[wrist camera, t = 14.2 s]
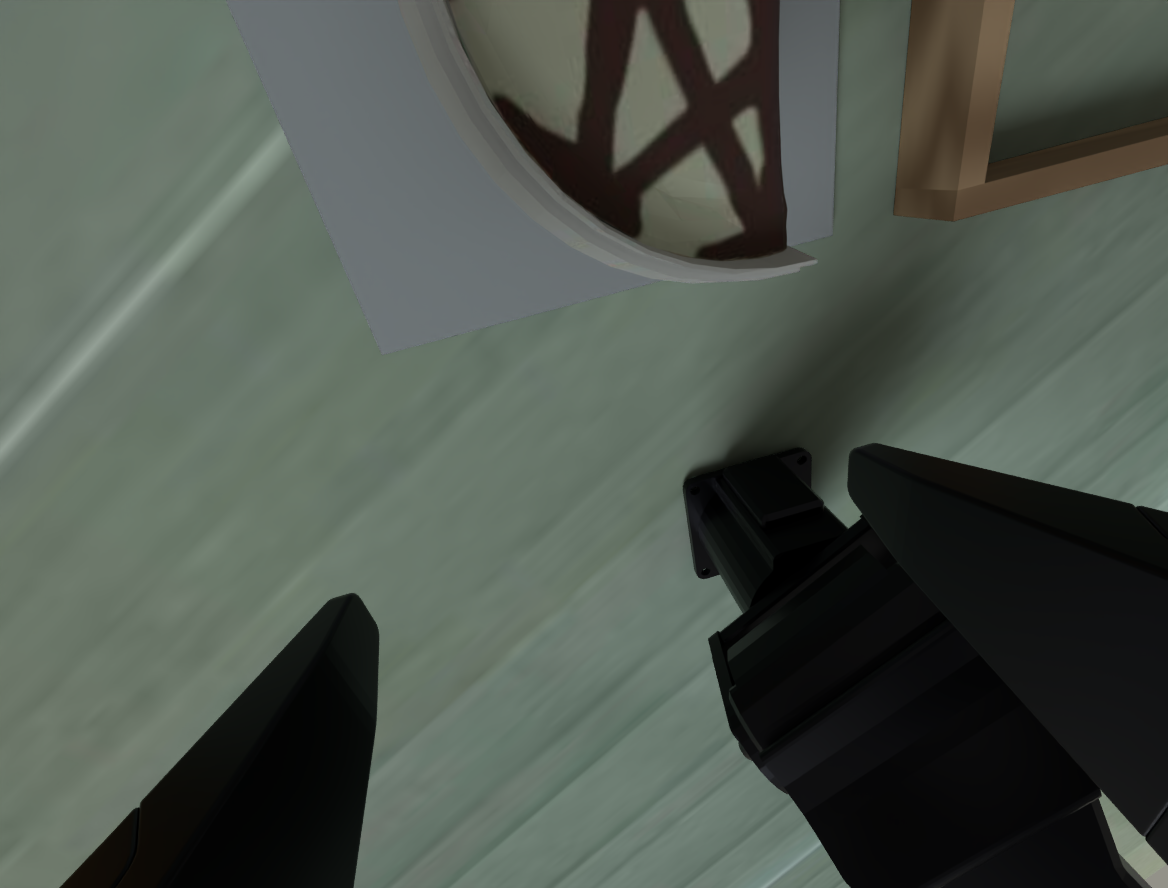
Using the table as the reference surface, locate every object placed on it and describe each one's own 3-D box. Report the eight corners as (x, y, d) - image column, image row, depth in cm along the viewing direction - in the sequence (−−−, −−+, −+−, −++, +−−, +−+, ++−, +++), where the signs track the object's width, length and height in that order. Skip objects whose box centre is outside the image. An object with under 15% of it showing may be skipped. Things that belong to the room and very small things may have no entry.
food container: (340, -215, 12) (1, -1127, 4) (579, -279, 13) (796, -1298, 4) (503, 284, 18) (520, 382, 10) (663, 236, 19) (818, 290, 10)
